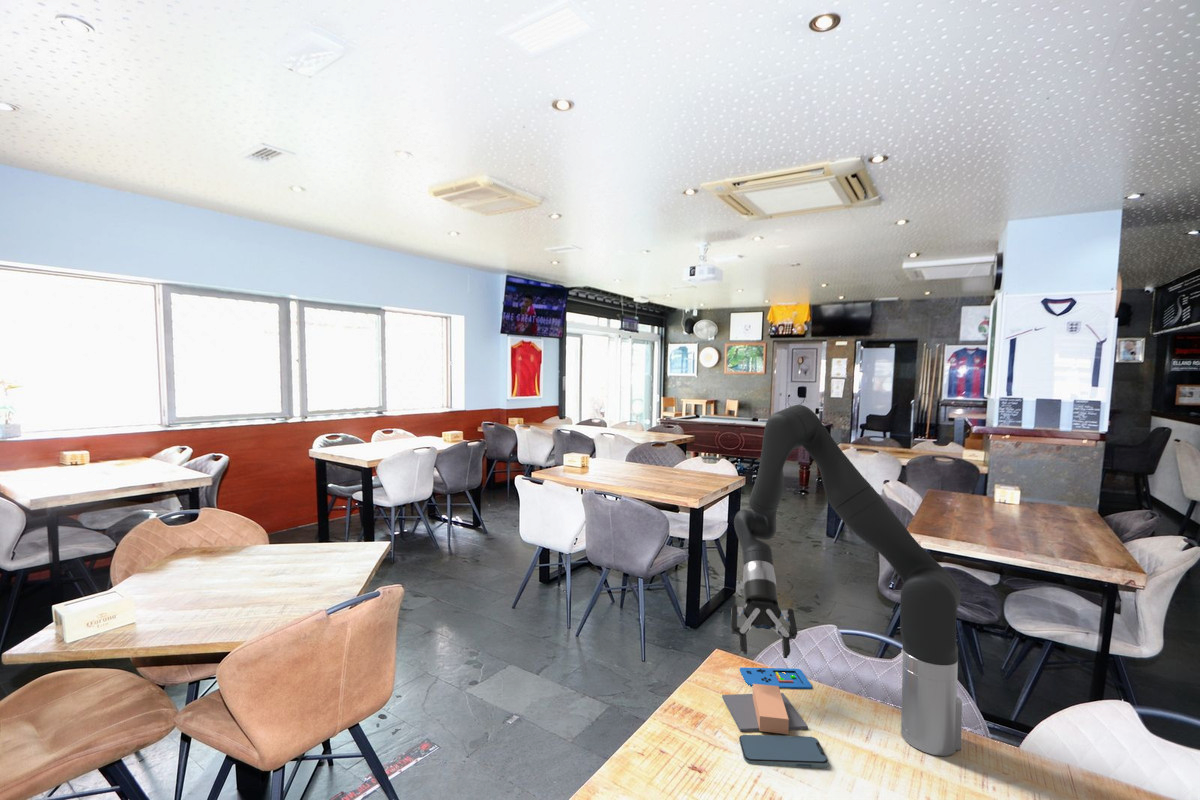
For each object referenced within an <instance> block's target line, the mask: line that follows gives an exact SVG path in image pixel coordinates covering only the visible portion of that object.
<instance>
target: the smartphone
mask: <svg viewBox="0 0 1200 800" xmlns="http://www.w3.org/2000/svg"><path fill="white" fill-rule="evenodd" d="M738 738H739V739H738V740H739V745H740V748H741V749H740V750H741V753H742V756H743V759H744V762H746V764H750V765H762V766H763V765H766V766H776V767H777V766H778V767H779V766H781V767H794V768H814V769H815V768H818V769H824V768H827V767H828V766H829V759H828V757H827V756H826V754H825V752H824V749H823V748H822V745H821V743H820V742H819V740H818V739H817V738H816V737H814V736H805V735H803V736H797V735H795V736H794V735H769V734H768V735H766V734H765V735H763V734H762V735H761V734H742V735H740V736H739V737H738Z"/></svg>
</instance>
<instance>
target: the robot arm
mask: <svg viewBox="0 0 1200 800" xmlns="http://www.w3.org/2000/svg"><path fill="white" fill-rule="evenodd" d="M762 437H763V438H762V446H761V452H760V459H759V465H758V466H759V467H758V471H757V475H756V478H755V482H754V485H753V487H752V490H751V493H750V496H749V499H748V505H749V507H750V509H740V510H738V511H737V512H736V514H735V516H734V520H733V527H734V531H735V534H736V536H737V539H738V541H739V544H740V548H741V550H742V556H743V557H742V560H743V573H742V574H743V576H742V577H743V581H742V584H743V594H744V595H743V597H744V606H738V605H737V604H735V603H734V604H732V605H731V612H730V614H731V615H730V633H731V634H732V635H737V636H738V637H739V638H738V639H739V649H740V652H742V654H743V655H746V656H747V654H748V644H747V642H748V641H747V634H748V632H750V630H751V629H752V628H753V627H754V628H755V629H765V630H771V629H772V630H773V631H774V632H775V634H777V635H778V636H779V637H780V638H781V646H782V647H781V648H782V656H783V659H788V657H789V656H790V654H791V645H790V644H791V643H790V640H795V639H796V638H797V636H798V628H797V622H796V616H795V613H794V609H792V608H788V609H787V610H786V609H785V610H782V609H781V608H780V606H779V600H778V598H779V597H778V590H777V580H776V578H777V577H776V574H775V569H774V561H773V550H772V548H771V546H770V545H769V544H768V543H766V542H764V541H769V540H771V539H772V538H774V536H775V535H776V533H777V512H778V511H777V510H778V507H779V504H780V502H781V499H782V497H783V494H784V490H785V486H786V485H785V483H786V482H785V481H786V480H785V476H784V466H785V463H786V462H787V459H788V458H789V456H790V454H791V453H792V452H793V450H796V449H798V448H800V447H802V448H803V449H805V451H806V452H807V453H808V454H809V456H810V457H811V458H812V459H813V461H814V462H815V464H816V465H817V468H818V470H819V473H820V477H821V481H822V484H823V489H824V494H825V496H826V498H827V502H828V503H829V505H830V507H831V508H832V509H833V510H834V512H835V513H836V514H837V516H838V517H839V518H840V520H842V522H843V523H844V524H845V525H846V527H847V528H849V529H850V531H851V532H853V534H855V535H856V536H857V537H858V538H860V539H861V540H862V541H863V542H864V543H866V544H867V545H868V546H870V547H871V548H872V549H874V550H875V551H876V552H878V553H879V554H880V555H881V556H882V557H883V558H884V559H885V560H886V561H887V562H888V564H889V565H890V566H891V567H892V569H893V570H894V572H896V574H897V575H898V576H899V578H900V579H901V581H902V583H903V585H902V586H901V587H902V588H901V591H900V596H899V597H900V598H899V600H900V601H899V603H900V604H899V607H900V608H899V611H900V612H899V616H900V618H899V620H900V624H899V625H900V626H899V627H900V628H899V629H900V637H901V640H902V655H901V656H902V660H901V662H902V663H901V664H902V666H901V717H900V718H901V719H900V721H901V722H900V733H901V737H902V738H903V740H905V742H906V743H908V744H909V745H910V746H912V747H913V748H915V749H917V750H919V751H922V752H924V753H926V754H930V755H933V756H938V757H939V756H941V757H943V756H944V757H946V756H947V757H948V756H950V755H954V753H955V752H956V751H957V750H958V751H959V750H962V732H963V731H962V727H963V726H962V725H963V724H962V720H963V717H962V716H963V701H962V699H961V698H960V697H959V696H958V673H959V671H958V667H959V666H958V662H959V647H958V645H957V610H958V608H959V606H960V604H961V600H962V594H961V590H960V586H959V585H958V583H957V581H956V580H955V579H954V577H953V576H952V575H951V574H950V573H949V572H948V571H947V570H946V569H945V568H944V567H943V566H942V565H941V564H940V563H938V561H936V560H935V559H934V558H933V557H932V555H930V553H928V552H927V551H926V549H924V548H923V547H922V545H920V543H918V541H917V540H916V539H915V537H913V535H912V534H911V533H910V532H909V531H908V529H907V528H906V526H905V525H904V523H902V521H901V520H900V519H899V517H898V516H897V515H896V514H895V513H894V511H893V510H892V509H891V508H890V506H889V505H888V504H887V503H886V502H885V500H884V499H883V497H882V496H881V495H880V494H879V492H877V491H876V489H875V488H874V487H873V486H872V485H871V483H870V482H868V480H867V479H866V478H865V477H864V476H863V475H862V474H861V472H860V471H859V470H858V469H857V468H856V466H855V465H854V464H853V462H851V460H850V458H849V457H848V456H846V455H847V454H845V453H844V452H843V451H842V449H841V448H840V447H839V445H838V444H837V442H836V441H835V439H834V438H833V437H832V435H831V433H830V432H829V431H828V429H827V428H826V427H825V425H824V424H823V422H822V421H821V419H820V418H819V417H818V416H817V414H816V413H815V412H814V411H813V410H811V408H809V407H807V406H805V405H803V404H796V405H791V406H789V407H787V408H784V409H782V410H779V411H776V412H774V413H773V414H771V415H770V416H769V417H768V419H767V420H766V423H765V426H764V430H763V436H762ZM761 540H762V541H761ZM741 614H743V615H744V616H745V618H746V620H745V622H744V624H742V626H741V627H740V626H738V618H739V617H741ZM781 617H783V619H784V620H785V621H786V622H787V625H788V631H787V629H786V628H785V627H784V625H783V624H782V622H781V621H780V618H781Z"/></svg>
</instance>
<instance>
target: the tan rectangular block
mask: <svg viewBox="0 0 1200 800" xmlns="http://www.w3.org/2000/svg"><path fill="white" fill-rule="evenodd" d="M781 693H782V692H781V690H780V689H779V686H771V685H761V684H753V687H752V694H753V701H754V706H755V711H756V716H757V721H758V726H759V731H758V732H765V733H766V732H767V733H773V734H783V735H784V734H785V735H789V730H788V726H789V719H788V716H787V712H786V709H785V706H784V702H783V699H782V696H781Z"/></svg>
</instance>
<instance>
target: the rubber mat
mask: <svg viewBox="0 0 1200 800" xmlns="http://www.w3.org/2000/svg"><path fill="white" fill-rule="evenodd" d="M721 695H722V696H721V699H722V700H723V702H724V704H725V705H726V708H727V710H728V711H729V713H730V715H731V717H732V719H733V721H734V722H735V724H736V726H737V728H738V730H739V732H741V733H742V732H747V733H748V732H760V731H759V726H758V721H757V716H756V711H755V706H754V701H753V693H741V694H739V693H737V694H721ZM781 696H782V699H783V702H784V706H785V709H786V712H787V716H788V719H789V726H788V731H792V730H793V731H794V730H808V728H809V727H808V726H809V725H808V724H807V723H806V721H805V720H804V718H803V717H802V716H801V715H800V714H799V712H798V711H797V709H796V708H795V706H794V705H793V704H792V703H791V701H790V700H789V699H788V697H787V696H786V695H785V693H784V692H781Z"/></svg>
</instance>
